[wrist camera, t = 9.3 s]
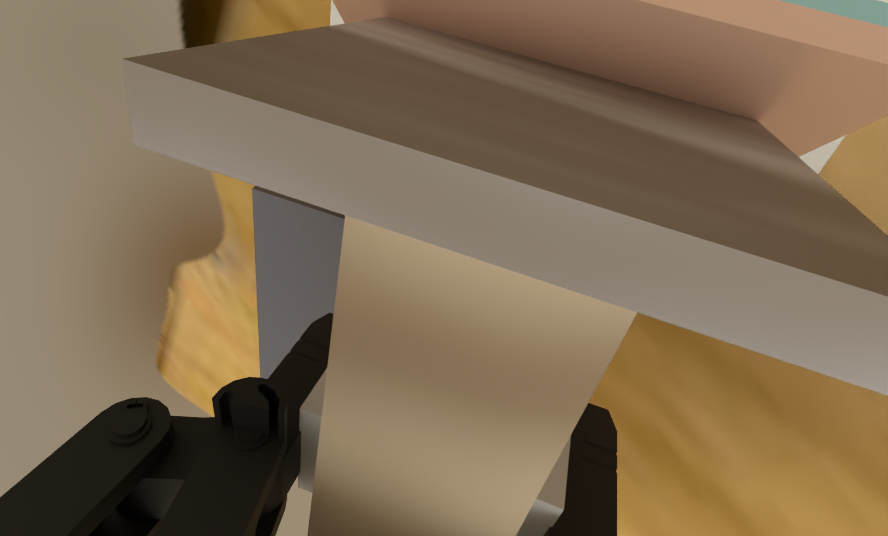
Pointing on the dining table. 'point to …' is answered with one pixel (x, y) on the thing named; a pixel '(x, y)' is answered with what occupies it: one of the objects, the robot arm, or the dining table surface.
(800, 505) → the dining table surface
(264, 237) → the mat
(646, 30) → the tile
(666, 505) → the dining table surface
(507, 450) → the push tool
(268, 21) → the dining table surface
